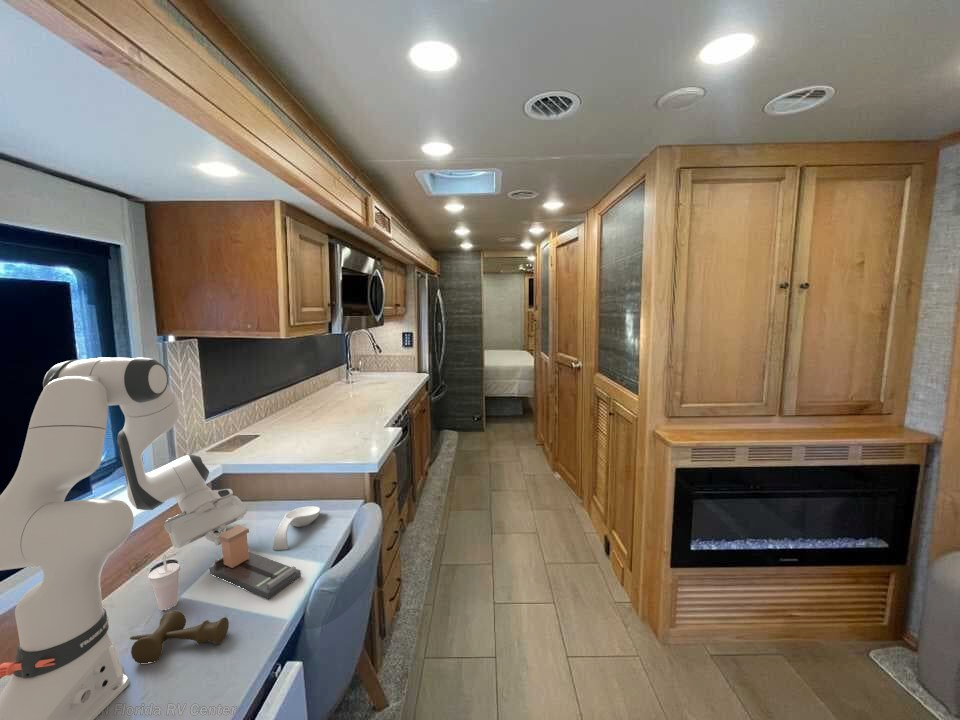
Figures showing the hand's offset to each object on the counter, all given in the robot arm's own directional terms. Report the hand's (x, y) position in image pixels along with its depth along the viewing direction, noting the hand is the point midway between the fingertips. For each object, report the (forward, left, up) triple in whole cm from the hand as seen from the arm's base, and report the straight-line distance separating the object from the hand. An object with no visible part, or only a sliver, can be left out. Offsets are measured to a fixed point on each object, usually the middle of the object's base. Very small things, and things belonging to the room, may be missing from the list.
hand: (222, 542), depth 118 cm
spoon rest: (+16, -16, -7) cm, 23 cm away
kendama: (-31, -5, -7) cm, 32 cm away
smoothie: (-17, +6, -7) cm, 19 cm away
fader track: (-8, -12, -7) cm, 16 cm away
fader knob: (-4, -5, -4) cm, 8 cm away
